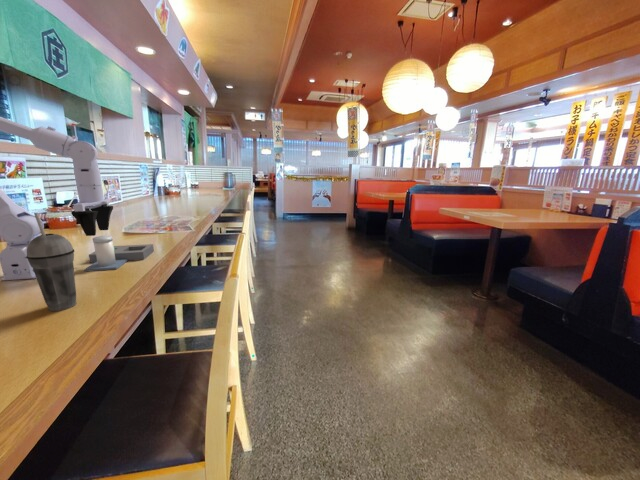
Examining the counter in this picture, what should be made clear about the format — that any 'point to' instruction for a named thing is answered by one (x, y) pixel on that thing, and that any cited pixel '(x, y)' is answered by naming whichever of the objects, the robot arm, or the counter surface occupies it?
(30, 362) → the counter surface
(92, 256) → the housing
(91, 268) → the mat
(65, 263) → the beverage cup
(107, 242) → the cylinder
